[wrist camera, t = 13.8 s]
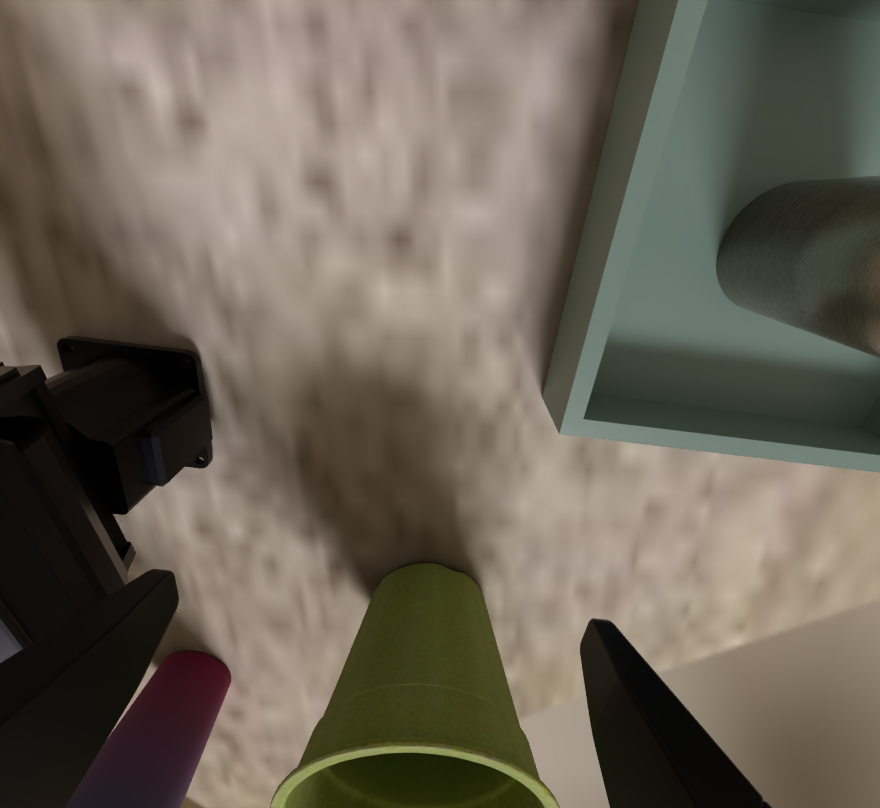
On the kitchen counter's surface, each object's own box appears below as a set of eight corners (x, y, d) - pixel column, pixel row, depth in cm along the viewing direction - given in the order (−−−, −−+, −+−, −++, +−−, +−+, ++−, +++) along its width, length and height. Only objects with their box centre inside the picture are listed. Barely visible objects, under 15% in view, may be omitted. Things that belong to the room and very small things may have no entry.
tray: (542, 396, 21) (559, 434, 18) (646, -32, 14) (707, -107, 11) (852, 434, 22) (929, 478, 18) (1096, 36, 15) (1291, -16, 11)
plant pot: (559, 603, 27) (624, 842, 17) (429, 682, 31) (418, 916, 21) (428, 493, 24) (411, 709, 14) (299, 597, 28) (210, 826, 17)
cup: (143, 635, 30) (-119, 1001, 16) (242, 649, 30) (67, 1019, 16) (154, 695, 32) (-60, 1047, 19) (244, 706, 33) (97, 1062, 19)
